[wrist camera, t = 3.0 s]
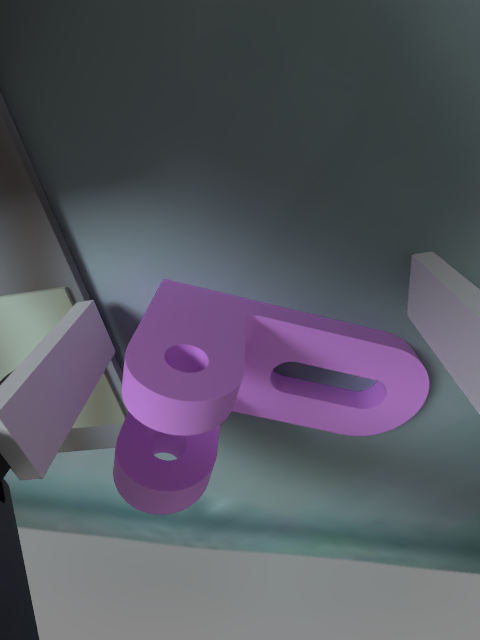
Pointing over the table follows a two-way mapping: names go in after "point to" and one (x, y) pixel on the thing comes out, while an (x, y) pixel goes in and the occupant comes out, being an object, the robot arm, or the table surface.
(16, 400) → the robot arm
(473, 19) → the table surface
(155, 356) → the bracket
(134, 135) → the table surface
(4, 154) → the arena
